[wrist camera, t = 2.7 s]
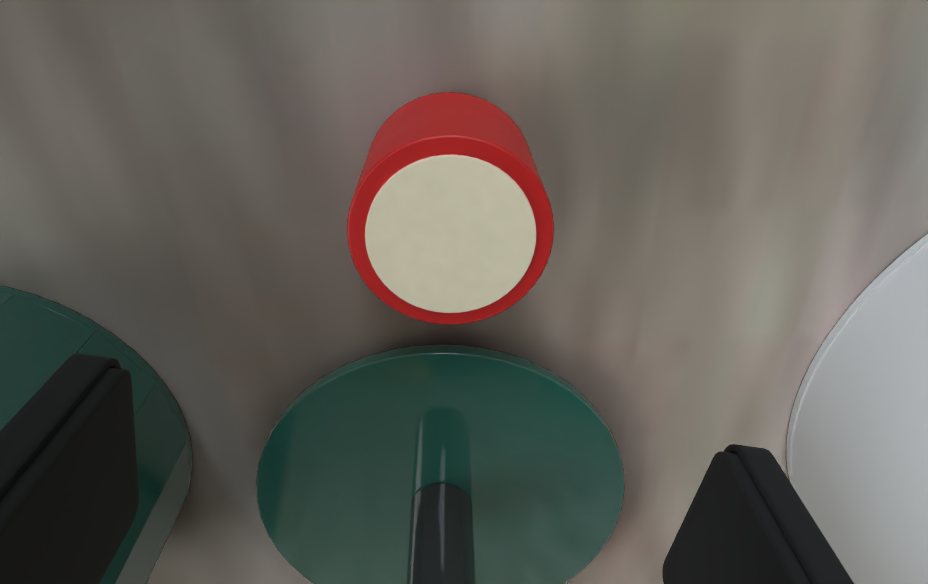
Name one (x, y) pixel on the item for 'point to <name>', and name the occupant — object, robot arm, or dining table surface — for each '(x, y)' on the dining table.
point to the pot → (155, 410)
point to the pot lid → (440, 472)
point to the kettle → (870, 429)
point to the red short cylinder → (450, 211)
